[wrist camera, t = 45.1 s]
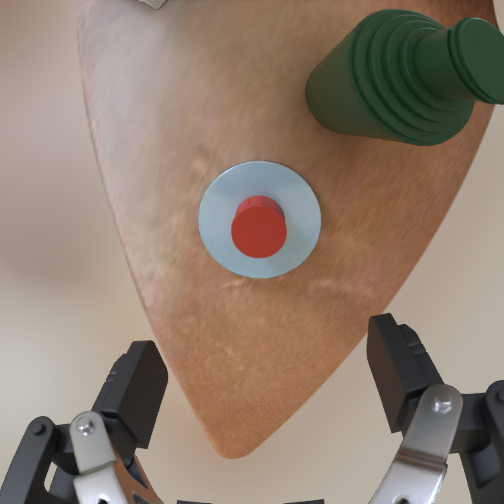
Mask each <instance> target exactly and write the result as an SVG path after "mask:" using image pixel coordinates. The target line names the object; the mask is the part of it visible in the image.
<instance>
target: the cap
mask: <svg viewBox="0 0 504 504" xmlns="http://www.w3.org/2000/svg"><path fill="white" fill-rule="evenodd" d="M231 237H232V240H233V243H234V245H235V246H236V248H237V249H238V250H239V251H240V252H242V253H243V254H245V255H246V256H249V257H252V258H266V257H270V256H272V255H274V254H275V253H277V252H278V251H279V250H280V249H281V248H282V246H283V245H284V243H285V241H286V237H287V228H286V223H285V216H284V212H283V210H282V209H281V207H280V205H279V204H278V203H277V202H276V201H275V200H273V199H271V198H269V197H266V196H263V195H262V196H252V197H249V198H248V199H246V200H244V201H243V202H242V203H241V204H240V205H239V206H238V209H237V211H236V214H235V217H234V219H233V222H232V225H231Z"/></svg>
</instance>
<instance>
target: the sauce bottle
mask: <svg viewBox="0 0 504 504" xmlns="http://www.w3.org/2000/svg"><path fill="white" fill-rule="evenodd" d="M306 100H307V104H308V106H309V109H310V111H311V113H312V114H313V116H314V117H315V118H316V120H317V121H318V122H319V123H320V124H322V125H323V126H324V127H326V128H327V129H329V130H331V131H333V132H336V133H340V134H346V135H355V136H363V137H370V138H377V139H384V140H390V141H396V142H402V143H407V144H413V145H418V146H431V145H437V144H440V143H443V142H445V141H447V140H449V139H450V138H452V137H453V136H454V135H456V134H457V133H458V132H459V131H460V130H461V129H462V128H463V127H464V126H465V125H466V123H467V122H468V120H469V118H470V116H471V113H472V111H473V107H474V102H475V101H482V102H484V103H488V104H500V105H503V104H504V36H503V34H502V33H501V32H500V31H499V30H498V29H497V28H496V27H495V26H493V25H492V24H491V23H489V22H487V21H485V20H483V19H479V18H473V17H465V18H463V19H461V20H459V21H457V23H456V24H455V25H453V26H450V27H448V28H444V27H443V26H442V25H440V24H439V23H438V22H436V21H435V20H433V19H432V18H430V17H428V16H426V15H424V14H421V13H418V12H415V11H410V10H402V9H385V10H381V11H377V12H374V13H372V14H370V15H368V16H367V17H365V18H364V19H363V20H362V21H361V22H360V23H359V24H358V25H357V26H356V27H355V28H354V29H353V30H352V31H351V32H350V33H349V34H348V35H347V36H346V37H345V38H344V39H343V40H342V41H341V42H340V43H339V44H338V45H337V46H336V47H335V48H334V49H333V50H332V51H331V52H330V53H329V54H328V56H327V57H326V58H325V59H324V60H323V61H322V62H321V63H320V64H319V65H318V66H317V67H316V68H315V69H314V71H313V72H312V73H311V75H310V77H309V79H308V82H307V85H306Z"/></svg>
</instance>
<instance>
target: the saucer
mask: <svg viewBox="0 0 504 504" xmlns="http://www.w3.org/2000/svg"><path fill="white" fill-rule="evenodd" d="M262 195H263V196H266V197H269V198H271V199H273V200H275V201H276V202H277V203H278V204H279V205H280V207H281V209H282V210H283V212H284V216H285V223H286V228H287V237H286V241H285V243H284V245H283V246H282V248H281V249H280V250H279V251H278V252H277V253H275V254H274V255H272V256H270V257H266V258H252V257H249V256H246V255H245V254H243V253H242V252H240V251H239V250H238V249H237V248H236V246H235V245H234V243H233V240H232V237H231V225H232V222H233V219H234V217H235V214H236V211H237V209H238V206H239V205H240V204H241V203H242V202H243V201H244V200H246V199H248V198H249V197H252V196H262ZM198 224H199V231H200V235H201V238H202V241H203V243H204V245H205V247H206V249H207V250H208V252H209V253H210V255H211V256H212V257H213V258H214V259H215V260H216V261H217V262H218V263H219V264H220V265H222V266H223V267H224V268H226V269H227V270H229V271H231V272H233V273H235V274H238V275H241V276H244V277H249V278H271V277H276V276H279V275H282V274H285V273H287V272H289V271H291V270H293V269H294V268H296V267H297V266H299V265H300V264H301V263H302V262H303V261H304V260H305V259H306V258H307V257H308V256H309V255H310V253H311V252H312V250H313V249H314V247H315V245H316V243H317V240H318V238H319V234H320V230H321V211H320V206H319V203H318V200H317V198H316V196H315V194H314V192H313V190H312V189H311V187H310V186H309V184H308V183H307V182H306V181H305V180H304V179H303V178H302V177H301V176H300V175H299V174H298V173H296V172H295V171H293V170H292V169H290V168H288V167H286V166H284V165H281V164H278V163H275V162H269V161H249V162H245V163H241V164H238V165H236V166H233V167H231V168H229V169H228V170H226V171H225V172H223V173H222V174H220V175H219V176H218V177H217V178H216V179H215V180H214V181H213V182H212V184H211V185H210V186H209V188H208V189H207V191H206V192H205V194H204V196H203V199H202V201H201V204H200V208H199V216H198Z"/></svg>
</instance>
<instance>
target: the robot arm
mask: <svg viewBox="0 0 504 504" xmlns="http://www.w3.org/2000/svg"><path fill="white" fill-rule="evenodd" d="M367 359H368V363H369V366H370V369H371V372H372V374H373V378H374V380H375V383H376V386H377V389H378V392H379V395H380V398H381V401H382V404H383V408H384V411H385V414H386V417H387V420H388V423H389V427H390V430H391V433H395V432H399V431H401V432H402V435H403V438H404V439H403V441H402V443H401V445H400V447H399V449H398V451H397V453H396V455H395V457H394V459H393V461H392V463H391V465H390V467H389V469H388V471H387V473H386V474H385V476H384V478H383V480H382V482H381V483H380V485H379V487H378V489H377V490H376V492H375V494H374V495H373V497H372V498H371V500H370V501H369V503H368V504H433V503H434V501H435V499H436V497H437V494H438V492H439V490H440V487H441V485H442V483H443V480H444V478H445V475H446V472H447V467H448V465H447V464H446V461H447V457H448V455H449V454H453V453H459V455H460V458H461V461H462V465H463V468H464V472H465V475H466V479H467V483H468V487H469V490H470V495H471V499H472V503H473V504H504V380H500V381H496V382H494V383H492V384H491V385H490V386H489V387H488V389H487V391H486V393H475V394H460V392H459V391H458V390H457V389H456V388H454V387H452V386H450V385H446V384H444V382H443V380H442V379H441V377H440V375H439V373H438V372H437V369H436V367H435V366H434V364H433V362H432V360H431V358H430V356H429V355H428V353H427V352H426V349H425V347H424V346H423V344H421V341H420V339H419V337H418V335H417V334H416V332H415V331H414V330H413V329H411V328H410V327H408V326H407V325H406V324H402V325H397V323H396V322H395V320H394V318H393V316H392V315H391V314H390V313H386V314H381V315H376V316H371V317H370V318H369V325H368V338H367ZM167 383H168V371H167V368H166V366H165V364H164V362H163V360H162V357H161V355H160V353H159V351H158V349H157V347H156V345H155V343H154V342H153V341H150V340H149V341H133V342H132V344H131V346H130V348H129V350H128V352H127V353H126V354H123V355H122V356H121V357H120V358H119V359H118V360H117V361H116V362H115V363H114V365H113V367H112V369H111V371H110V374H109V375H108V377H107V379H106V382H105V383H104V385H103V387H102V389H101V391H100V393H99V395H98V397H97V399H96V401H95V403H94V405H93V407H92V409H91V411H85V412H82V413H80V414H78V415H77V416H76V417H75V418H74V419H73V420H72V422H71V424H62V425H55V424H54V423H53V422H52V420H51V419H49V418H48V417H46V416H41V417H37V418H36V419H34V420H33V421H32V422H31V423H30V424H29V426H28V427H27V430H26V432H25V434H24V436H23V438H22V440H21V442H20V444H19V447H18V449H17V451H16V453H15V455H14V458H13V460H12V462H11V464H10V467H9V469H8V472H7V474H6V477H5V479H4V482H3V484H2V487H1V490H0V504H164V503H163V501H162V500H161V499H160V498H159V497H158V496H157V494H156V493H155V491H154V490H153V488H152V486H151V484H150V482H149V480H148V478H147V476H146V474H145V473H144V471H143V468H142V466H141V465H140V463H139V460H138V458H137V456H136V455H135V454H134V453H135V450H136V448H144V449H148V445H149V442H150V438H151V435H152V431H153V428H154V425H155V422H156V418H157V415H158V412H159V409H160V405H161V402H162V399H163V396H164V392H165V389H166V386H167ZM51 462H53V463H54V464H55V465H57V469H56V472H55V475H54V478H53V480H52V483H51V486H50V489H49V492H47V491H46V489H45V487H44V481H45V478H46V475H47V472H48V469H49V467H50V464H51ZM177 504H211V503H199V502H188V501H179V500H177ZM285 504H324V499H321V500H314V501H305V502H295V503H285Z"/></svg>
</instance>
